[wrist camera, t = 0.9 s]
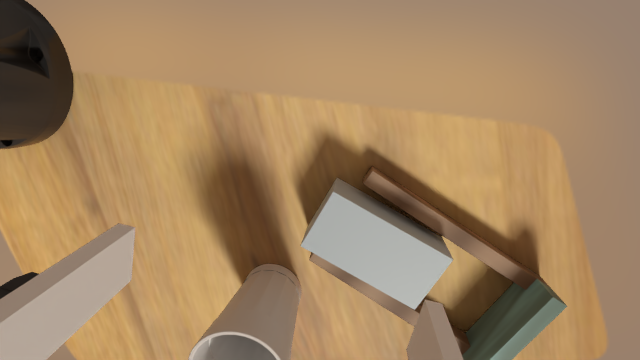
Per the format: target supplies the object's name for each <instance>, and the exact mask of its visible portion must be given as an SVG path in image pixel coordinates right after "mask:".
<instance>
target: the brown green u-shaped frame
mask: <svg viewBox="0 0 640 360" xmlns="http://www.w3.org/2000/svg"><path fill="white" fill-rule="evenodd" d="M363 184H364V185H366V186H367V187H369V188H370V189H372V190H373V191H375V192H376V193H378V194H379V195H381V196H382V197H384V198H385V199H387V200H389V201H390V202H392V203H393V204H395V205H396V206H398V207H399V208H401V209H402V210H404V211H405V212H407V213H408V214H410V215H412V216H413V217H415V218H416V219H418V220H419V221H421V222H422V223H424V224H425V225H427V226H428V227H430V228H431V229H433V230H434V231H436V232H438V233H439V234H441V235H442V236H444V237H445V238H447V239H448V240H450V241H451V242H453V243H454V244H456V245H457V246H459V247H461V248H462V249H464V250H465V251H467V252H468V253H470V254H471V255H473V256H474V257H476V258H477V259H479V260H480V261H482V262H484V263H485V264H487V265H488V266H490V267H491V268H493V269H494V270H496V271H497V272H499V273H500V274H502V275H503V276H505V277H506V278H508V279H510V280H511V281H513V282H514V283H513V284H512V285H511V286H510V287H509V288H508V289H507V290H506V291H505V292H504V293H503V294H502V296H501V297H500V298H499V299H498V300H497V301H496V302H495V303H494V304H493V305H492V306H491V307H490V308H489V309H488V310H487V311H486V312H485V313H484V314H483V315H482V316H481V318H480V319H479V320H478V321H477V322H476V323H475V324H474V325H473V326H472V327H471V328H470V329H469V330H468V331H467V332H466V333H464V332H463V331H461V330H459V329H458V328H456V327H455V326H453V325H452V324H450V326H451V328H452V331H453V334H454V336H455V339H456V341H457V344H458V347H459V349H460V352H461V355H462V357H463V360H512V359H513V358H514V357H515V356H516V355H517V354H518V353H519V352H520V351H521V350H522V349H523V348H524V347H525V346H527V345H528V344H529V343H530V342H531V341H532V340H533V339H534V338H535V337H536V336H537V335H538V334H539V333H540V332H541V331H542V330H543V329H544V328H545V327H546V326H547V325H548V324H549V323H550V322H551V321H553V320H554V319H555V318H556V317H557V316H558V315H559V314H560V313H561V312H562V311H563V310H564V309H565V308H566V307H567V306H566V304H565V303H564V302H563V301H562V300H561V299H560V298H559V297H558V296H557V294H556V293H555V292H554V291H553V290H552V289H551V288H550V287H549V286H548V285H547V283H546V282H545V281H544V280H543V279H542V278H541V277H540V276H539V275H537V274H536V273H534V272H533V271H531V270H530V269H528V268H527V267H525V266H524V265H522V264H521V263H519V262H518V261H516V260H515V259H513V258H512V257H510V256H508V255H507V254H505V253H504V252H502V251H501V250H499V249H498V248H496V247H495V246H493V245H492V244H490V243H489V242H487V241H486V240H484V239H483V238H481V237H480V236H478V235H476V234H475V233H473V232H472V231H470V230H469V229H467V228H466V227H464V226H463V225H461V224H460V223H458V222H457V221H455V220H454V219H452V218H451V217H449V216H448V215H446V214H445V213H443V212H441V211H440V210H438V209H437V208H435V207H434V206H432V205H431V204H429V203H428V202H426V201H425V200H423V199H422V198H420V197H419V196H417V195H416V194H414V193H413V192H411V191H409V190H408V189H406V188H405V187H403V186H402V185H400V184H399V183H397V182H396V181H394V180H393V179H391V178H390V177H388V176H387V175H385V174H384V173H382V172H381V171H379V170H378V169H376V168H374V167H373V166H372V167H371V168H370V170H369V171H368V173H367V174H366V175H365V177H364V178H363ZM309 260H310V261H312V262H313V263H315V264H316V265H318V266H319V267H321V268H323V269H324V270H326V271H327V272H329V273H331V274H332V275H334V276H335V277H337V278H338V279H340V280H342V281H343V282H345V283H346V284H348V285H349V286H351V287H353V288H354V289H356V290H357V291H359V292H361V293H362V294H364V295H365V296H367V297H368V298H370V299H372V300H373V301H375V302H376V303H378V304H379V305H381V306H383V307H384V308H386V309H387V310H389V311H390V312H392V313H394V314H395V315H397V316H398V317H400V318H402V319H403V320H405V321H406V322H408V323H409V324H411V325H413V326H414V327H415V325H416V322H417V320H418V317H419V314H420V311H421V309H422V305H420V304H419V305H418V306H417V308H416V309H415V310H414V309H412V308H410V307H409V306H407V305H405V304H403V303H401V302H400V301H398V300H396V299H394V298H393V297H391V296H389V295H387V294H385V293H384V292H382V291H380V290H378V289H376V288H375V287H373V286H371V285H369V284H368V283H366V282H364V281H362V280H360V279H359V278H357V277H355V276H353V275H351V274H350V273H348V272H346V271H344V270H342V269H341V268H339V267H337V266H335V265H334V264H332V263H330V262H328V261H326V260H325V259H323V258H321V257H319V256H317V255H316V254H314V253H312V252H311V255H310V259H309Z"/></svg>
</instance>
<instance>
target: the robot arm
mask: <svg viewBox="0 0 640 360" xmlns="http://www.w3.org/2000/svg"><path fill="white" fill-rule="evenodd" d="M72 94H73V79H72V71H71V66H70V62H69V59H68V56H67V53H66V51H65V48H64V46H63V44H62V42H61V40H60V38H59V36H58V34H57V33H56V31H55V30H54V28H53V27H52V26H51V24H50V23H49V22H48V21H47V20H46V18H45V17H44V16H43V15H42V14H41V13H40V12H39V11H38V10H36V8H34V7H33V6H32V5H31V4H29V3H28V2H26V1H25V0H0V149H10V148H17V147H22V146H27V145H32V144H36V143H39V142H41V141H43V140H45V139H47V138H49V137H50V136H51V135H53V134H54V133H55V132H56V131H57V130H58V129H59V128H60V126H61V125H62V123H63V122H64V120H65V118H66V116H67V114H68V112H69V109H70V105H71V101H72ZM134 237H135V227H131V226H127V225H123V224H119V223H118V224H117V225H115V226H114V227H112V228H111V229H109V230H107V231H106V232H104V233H103V234H101V235H100V236H98V237H97V238H95V239H93V240H92V241H90V242H89V243H87V244H86V245H84V246H83V247H81V248H79V249H78V250H76V251H75V252H73V253H72V254H70V255H68V256H67V257H65V258H64V259H62V260H61V261H59V262H58V263H56V264H54V265H53V266H51V267H50V268H48V269H47V270H45V271H44V272H42V273H40V274H38V273H34V272H31V273H28V274H25V275H22V276H19V277H16V278H14V279H12V280H10V281H9V282H7V283H5V284H4V285H2V286H0V360H46V359H47V358H48V357H49V356H50V355H51V354H53V353H54V352H55V351H56V350H57V349H58V348H59V347H60V346H61V345H62V344H63V343H64V342H65V341H67V340H68V339H69V338H70V337H71V336H72V335H73V334H74V333H75V332H76V331H77V330H78V329H79V328H80V327H82V326H83V325H84V324H85V323H86V322H87V321H88V320H89V319H90V318H91V317H92V316H93V315H94V314H96V313H97V312H98V311H99V310H100V309H101V308H102V307H103V306H104V305H105V304H106V303H107V302H108V301H109V300H111V299H112V298H113V297H114V296H115V295H116V294H117V293H118V292H119V291H120V290H121V289H122V288H123V287H124V286H126V285H127V284H128V283H129V282H130V281H131V276H132V263H133V250H134ZM407 355H408V360H463V357H462V355H461V352H460V349H459V347H458V344H457V341H456V339H455V336H454V334H453V331H452V328H451V326H450V323H449V320H448V318H447V315H446V313H445V310H444V307H443V305H442V304H441V303H437V302H433V301H429V300H425V301H424V303H423V306H422V309H421V311H420V314H419V317H418V320H417V322H416V325H415V328H414V331H413V333H412V336H411V339H410V341H409V344H408V347H407Z"/></svg>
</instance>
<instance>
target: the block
mask: <svg viewBox="0 0 640 360" xmlns="http://www.w3.org/2000/svg"><path fill="white" fill-rule="evenodd" d="M301 247H303V248H305V249H307V250H309V251H310V252H312V253H314V254H316V255H317V256H319V257H321V258H323V259H325V260H326V261H328V262H330V263H332V264H334V265H335V266H337V267H339V268H341V269H342V270H344V271H346V272H348V273H350V274H351V275H353V276H355V277H357V278H359V279H360V280H362V281H364V282H366V283H368V284H369V285H371V286H373V287H375V288H376V289H378V290H380V291H382V292H384V293H385V294H387V295H389V296H391V297H393V298H394V299H396V300H398V301H400V302H401V303H403V304H405V305H407V306H409V307H410V308H412V309H414V310H415V309H416V308H417V306H418V305H419V304H420V303H421V301H422V300H423V299H424V297H425V296H426V295H427V293H428V292H429V291H430V289H431V288H432V287H433V286H434V284H435V283H436V282H437V280H438V279H439V278H440V276H441V275H442V274H443V272H444V271H445V270H446V269H447V267H448V266H449V265H450V263H451V262H452V261H453V258H452V256H451V254H450V252H449V250H448V248H447V246H446V244H445V242H444V240H443V238H442V237H441V236H439V235H437V234H436V233H434V232H432V231H430V230H429V229H427V228H425V227H423V226H422V225H420V224H418V223H416V222H415V221H413V220H411V219H409V218H408V217H406V216H404V215H402V214H400V213H399V212H397V211H395V210H393V209H392V208H390V207H388V206H386V205H385V204H383V203H381V202H379V201H378V200H376V199H374V198H372V197H371V196H369V195H367V194H365V193H364V192H362V191H360V190H358V189H357V188H355V187H353V186H351V185H350V184H348V183H346V182H344V181H343V180H341V179H339V178H336V180H335V181H334V183H333V185H332V187H331V188H330V190H329V192H328V193H327V195H326V197H325V198H324V200H323V202H322V203H321V205H320V207H319V208H318V210H317V212H316V213H315V215H314V217H313V218H312V220H311V222H310V223H309V225H308V227H307V230H306V233H305V235H304V238H303V241H302V244H301Z"/></svg>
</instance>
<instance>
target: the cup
mask: <svg viewBox="0 0 640 360" xmlns="http://www.w3.org/2000/svg"><path fill="white" fill-rule="evenodd" d="M300 298H301V286H300V283H299V281H298V279H297V277H296V276H295V275H294V274H293V273H292V272H291V271H290V270H288V269H287V268H285V267H283V266H280V265H277V264H264V265H260V266H258V267H256V268H254V269H253V270H252V271H251V272H250V273H249V275H248V276H247V278H246V280H245V281H244V283H243V285H242V286H241V287H240V289H239V290H238V291H237V293H236V294H235V295H234V297H233V298H232V299H231V301H230V302H229V303H228V305H227V306H226V307H225V309H224V310H223V311H222V313H221V314H220V315H219V317H218V318H217V319H216V320H215V321H214V322H213V323H212V325H211V326H210V327H209V328H208V330H207V331H206V332H205V333H204V335H203V336H202V337H201V339H200V340H199V341H198V342H197V344H196V345H195V346H194V348H193V349H192V351H191V353H190V356H189V359H188V360H290V357H291V347H292V341H293V334H294V328H295V322H296V316H297V310H298V305H299V302H300Z"/></svg>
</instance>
